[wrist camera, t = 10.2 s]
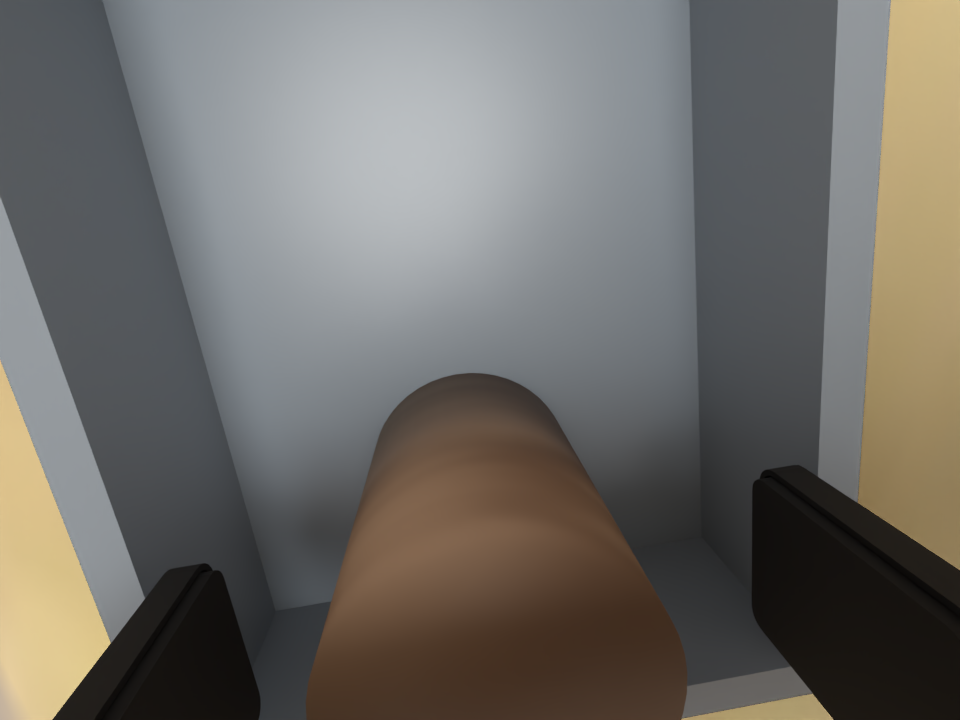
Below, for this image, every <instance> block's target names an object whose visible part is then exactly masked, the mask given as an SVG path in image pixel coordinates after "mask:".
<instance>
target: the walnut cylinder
mask: <svg viewBox="0 0 960 720" xmlns="http://www.w3.org/2000/svg"><path fill="white" fill-rule="evenodd" d="M686 695H687V666H686V659H685V653H684V650H683V646H682V643H681V640H680V637H679V634H678V632H677V630H676V628H675V626H674V624H673V622H672V620H671V618H670V616H669V614H668V613H667V611H666V609H665V607H664V606H663V604H662V602H661V601H660V599H659V597H658V595H657V594H656V592H655V590H654V588H653V587H652V585H651V583H650V581H649V580H648V578H647V576H646V574H645V573H644V571H643V569H642V567H641V566H640V564H639V562H638V561H637V559H636V557H635V555H634V554H633V552H632V550H631V548H630V547H629V545H628V543H627V541H626V540H625V538H624V536H623V534H622V533H621V531H620V529H619V528H618V526H617V524H616V522H615V521H614V519H613V517H612V515H611V514H610V512H609V510H608V508H607V507H606V505H605V503H604V501H603V500H602V498H601V496H600V494H599V493H598V491H597V489H596V488H595V486H594V484H593V482H592V481H591V479H590V477H589V475H588V474H587V472H586V470H585V468H584V467H583V465H582V463H581V461H580V460H579V458H578V456H577V454H576V453H575V451H574V449H573V448H572V446H571V444H570V442H569V441H568V439H567V437H566V435H565V434H564V432H563V430H562V428H561V427H560V425H559V423H558V421H557V420H556V418H555V416H554V415H553V414H552V412H551V411H550V409H549V408H548V407H547V406H546V404H545V403H544V402H543V401H542V400H541V399H540V398H539V397H538V396H536V395H535V394H534V393H533V392H531V391H530V390H528V389H527V388H525V387H523V386H522V385H520V384H518V383H516V382H514V381H511V380H509V379H506V378H503V377H499V376H496V375H489V374H483V373H465V374H456V375H451V376H447V377H443V378H440V379H437V380H435V381H432V382H430V383H428V384H426V385H424V386H422V387H420V388H418V389H417V390H415V391H414V392H413V393H411V394H410V395H408V396H407V397H406V398H405V399H404V400H403V401H402V402H401V403H399V405H398V406H397V407H396V408H395V409H394V410H393V412H392V413H391V414H390V416H389V417H388V419H387V420H386V422H385V424H384V426H383V428H382V430H381V432H380V434H379V437H378V441H377V444H376V448H375V451H374V455H373V458H372V462H371V465H370V469H369V472H368V476H367V479H366V483H365V486H364V490H363V493H362V496H361V500H360V503H359V507H358V510H357V514H356V517H355V521H354V524H353V528H352V531H351V535H350V538H349V542H348V545H347V549H346V552H345V556H344V559H343V563H342V566H341V570H340V573H339V577H338V580H337V583H336V587H335V590H334V594H333V597H332V601H331V604H330V608H329V611H328V615H327V618H326V622H325V625H324V629H323V632H322V636H321V639H320V643H319V646H318V650H317V653H316V657H315V660H314V663H313V667H312V670H311V674H310V677H309V681H308V688H307V696H306V720H681V718H682V715H683V712H684V706H685V701H686Z"/></svg>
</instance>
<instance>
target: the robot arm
mask: <svg viewBox="0 0 960 720" xmlns="http://www.w3.org/2000/svg"><path fill="white" fill-rule="evenodd" d="M752 610H753V614H754V617H755V620H756V622H757V624H758V625H759V627H760V628H761V630H762V631H763V632H764V634H765V635H766V636H767V637H768V639H769V640H770V641H771V642H772V644H773V645H774V646H775V647H776V648H777V650H778V651H779V652H780V653H781V655H782V656H783V657H784V658H785V660H786V661H787V662H788V663H789V665H790V666H791V667H792V668H793V670H794V671H795V672H796V673H797V675H798V676H799V677H800V678H801V680H802V681H803V682H804V683H805V684H806V686H807V687H808V688H809V689H810V691H811V692H812V693H813V694H814V696H815V697H816V698H817V699H818V701H819V702H820V703H821V704H822V706H823V707H824V708H825V709H826V711H827V712H828V713H829V714H830V715H831V717H832V718H833V719H834V720H960V570H958V569H957V568H955V567H954V566H952V565H951V564H949V563H948V562H946V561H945V560H943V559H942V558H940V557H939V556H937V555H936V554H934V553H933V552H931V551H929V550H928V549H926V548H925V547H923V546H922V545H920V544H919V543H917V542H916V541H914V540H913V539H911V538H910V537H908V536H907V535H905V534H904V533H902V532H901V531H899V530H898V529H896V528H895V527H893V526H892V525H890V524H889V523H887V522H886V521H884V520H883V519H881V518H880V517H878V516H877V515H875V514H874V513H872V512H870V511H869V510H867V509H866V508H864V507H863V506H861V505H860V504H858V503H857V502H855V501H854V500H852V499H851V498H849V497H848V496H846V495H845V494H843V493H842V492H840V491H839V490H837V489H836V488H834V487H833V486H831V485H830V484H828V483H827V482H825V481H824V480H822V479H821V478H819V477H818V476H816V475H815V474H813V473H811V472H810V471H808V470H807V469H805V468H804V467H802V466H800V465H790V466H784V467H778V468H772V469H766V470H764V471H763V472H762V473H761V475H760V479H757V480H755V481H754V483H753V487H752ZM260 709H261V699H260V693H259V690H258V686H257V683H256V680H255V677H254V673H253V670H252V667H251V664H250V660H249V657H248V654H247V651H246V647H245V644H244V641H243V638H242V634H241V631H240V628H239V625H238V621H237V618H236V615H235V612H234V608H233V605H232V602H231V599H230V595H229V592H228V589H227V586H226V582H225V579H224V576H223V574H222V573H221V572H220V571H219V570H214V571H213V570H212V568H211V567H210V565H209V564H206V563H202V564H196V565H190V566H184V567H178V568H173V569H169V570H168V571H167V572H166V573H165V574H164V575H163V576H162V577H161V579H160V580H159V581H158V583H157V584H156V585H155V586H154V588H153V589H152V590H151V592H150V593H149V594H148V596H147V597H146V598H145V599H144V601H143V602H142V603H141V605H140V606H139V607H138V609H137V610H136V611H135V613H134V614H133V615H132V616H131V618H130V619H129V620H128V622H127V623H126V624H125V626H124V627H123V628H122V630H121V631H120V632H119V633H118V635H117V636H116V637H115V639H114V640H113V641H112V643H111V644H110V645H109V647H108V648H107V649H106V650H105V652H104V653H103V654H102V656H101V657H100V658H99V660H98V661H97V662H96V664H95V665H94V666H93V667H92V669H91V670H90V671H89V673H88V674H87V675H86V677H85V678H84V679H83V680H82V682H81V683H80V684H79V686H78V687H77V688H76V690H75V691H74V692H73V694H72V695H71V696H70V697H69V699H68V700H67V701H66V703H65V704H64V705H63V707H62V708H61V709H60V711H59V712H58V713H57V714H56V716H55V717H54V718H53V720H259V716H260Z"/></svg>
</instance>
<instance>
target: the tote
mask: <svg viewBox="0 0 960 720" xmlns="http://www.w3.org/2000/svg"><path fill="white" fill-rule="evenodd" d="M890 3H891V0H0V360H1V363H2V365H3V368H4V370H5V373H6V375H7V378H8V381H9V383H10V386H11V388H12V391H13V393H14V396H15V399H16V401H17V404H18V406H19V409H20V411H21V414H22V416H23V419H24V422H25V424H26V427H27V429H28V432H29V434H30V437H31V440H32V442H33V445H34V447H35V450H36V452H37V455H38V457H39V460H40V463H41V465H42V468H43V470H44V473H45V475H46V478H47V480H48V483H49V486H50V488H51V491H52V493H53V496H54V498H55V501H56V504H57V506H58V509H59V511H60V514H61V516H62V519H63V521H64V524H65V527H66V529H67V532H68V534H69V537H70V539H71V542H72V544H73V547H74V550H75V552H76V555H77V557H78V560H79V562H80V565H81V568H82V570H83V573H84V575H85V578H86V580H87V583H88V585H89V588H90V591H91V593H92V596H93V598H94V601H95V603H96V606H97V608H98V611H99V614H100V616H101V619H102V621H103V624H104V626H105V629H106V632H107V634H108V637H109V639H110V642H111V643H112V641H113V640H114V639H115V637H116V636H117V635H118V633H119V632H120V631H121V630H122V628H123V627H124V626H125V624H126V623H127V622H128V620H129V619H130V618H131V616H132V615H133V614H134V613H135V611H136V610H137V609H138V607H139V606H140V605H141V603H142V602H143V601H144V599H145V598H146V597H147V596H148V594H149V593H150V592H151V590H152V589H153V588H154V586H155V585H156V584H157V583H158V581H159V580H160V579H161V577H162V576H163V575H164V574H165V573H166V572H167V571H168V570H169V569H173V568H178V567H184V566H190V565H196V564H202V563H206V564H209V565H210V567H211V568H212V570H213V571H214V570H219V571H220V572H221V573H222V574H223V576H224V579H225V582H226V586H227V589H228V592H229V595H230V599H231V602H232V605H233V608H234V612H235V615H236V618H237V621H238V625H239V628H240V631H241V634H242V638H243V641H244V644H245V647H246V651H247V654H248V657H249V660H250V664H251V667H252V670H253V673H254V677H255V680H256V683H257V686H258V690H259V693H260V699H261V709H260V716H259V720H306V696H307V688H308V681H309V677H310V674H311V670H312V667H313V663H314V660H315V657H316V653H317V650H318V646H319V643H320V639H321V636H322V632H323V629H324V625H325V622H326V618H327V615H328V611H329V608H330V604H331V601H332V597H333V594H334V590H335V587H336V583H337V580H338V577H339V573H340V570H341V566H342V563H343V559H344V556H345V552H346V549H347V545H348V542H349V538H350V535H351V531H352V528H353V524H354V521H355V517H356V514H357V510H358V507H359V503H360V500H361V496H362V493H363V490H364V486H365V483H366V479H367V476H368V472H369V469H370V465H371V462H372V458H373V455H374V451H375V448H376V444H377V441H378V437H379V434H380V432H381V430H382V428H383V426H384V424H385V422H386V420H387V419H388V417H389V416H390V414H391V413H392V412H393V410H394V409H395V408H396V407H397V406H398V405H399V403H401V402H402V401H403V400H404V399H405V398H406V397H407V396H408V395H410V394H411V393H413V392H414V391H415V390H417V389H418V388H420V387H422V386H424V385H426V384H428V383H430V382H432V381H435V380H437V379H440V378H443V377H447V376H451V375H456V374H465V373H483V374H489V375H496V376H499V377H503V378H506V379H509V380H511V381H514V382H516V383H518V384H520V385H522V386H523V387H525V388H527V389H528V390H530V391H531V392H533V393H534V394H535V395H536V396H538V397H539V398H540V399H541V400H542V401H543V402H544V403H545V404H546V406H547V407H548V408H549V409H550V411H551V412H552V414H553V415H554V416H555V418H556V420H557V421H558V423H559V425H560V427H561V428H562V430H563V432H564V434H565V435H566V437H567V439H568V441H569V442H570V444H571V446H572V448H573V449H574V451H575V453H576V454H577V456H578V458H579V460H580V461H581V463H582V465H583V467H584V468H585V470H586V472H587V474H588V475H589V477H590V479H591V481H592V482H593V484H594V486H595V488H596V489H597V491H598V493H599V494H600V496H601V498H602V500H603V501H604V503H605V505H606V507H607V508H608V510H609V512H610V514H611V515H612V517H613V519H614V521H615V522H616V524H617V526H618V528H619V529H620V531H621V533H622V534H623V536H624V538H625V540H626V541H627V543H628V545H629V547H630V548H631V550H632V552H633V554H634V555H635V557H636V559H637V561H638V562H639V564H640V566H641V567H642V569H643V571H644V573H645V574H646V576H647V578H648V580H649V581H650V583H651V585H652V587H653V588H654V590H655V592H656V594H657V595H658V597H659V599H660V601H661V602H662V604H663V606H664V607H665V609H666V611H667V613H668V614H669V616H670V618H671V620H672V622H673V624H674V626H675V628H676V630H677V632H678V634H679V637H680V640H681V643H682V646H683V650H684V653H685V659H686V666H687V695H686V701H685V706H684V712H683V715H682V718H687V717H692V716H697V715H703V714H708V713H713V712H718V711H724V710H729V709H734V708H739V707H745V706H750V705H755V704H760V703H765V702H771V701H776V700H781V699H786V698H792V697H797V696H802V695H807V694H813V693H812V692H811V691H810V689H809V688H808V687H807V686H806V684H805V683H804V682H803V681H802V680H801V678H800V677H799V676H798V675H797V673H796V672H795V671H794V670H793V668H792V667H791V666H790V665H789V663H788V662H787V661H786V660H785V658H784V657H783V656H782V655H781V653H780V652H779V651H778V650H777V648H776V647H775V646H774V645H773V644H772V642H771V641H770V640H769V639H768V637H767V636H766V635H765V634H764V632H763V631H762V630H761V628H760V627H759V625H758V624H757V622H756V620H755V617H754V614H753V610H752V487H753V483H754V481H755V480H757V479H760V475H761V473H762V472H763V471H764V470H766V469H772V468H778V467H784V466H790V465H800V466H802V467H804V468H805V469H807V470H808V471H810V472H811V473H813V474H815V475H816V476H818V477H819V478H821V479H822V480H824V481H825V482H827V483H828V484H830V485H831V486H833V487H834V488H836V489H837V490H839V491H840V492H842V493H843V494H845V495H846V496H848V497H849V498H851V499H852V500H854V501H855V502H857V503H858V489H859V474H860V459H861V444H862V429H863V413H864V398H865V383H866V368H867V353H868V337H869V322H870V307H871V292H872V277H873V261H874V246H875V231H876V216H877V201H878V185H879V170H880V155H881V140H882V125H883V109H884V94H885V79H886V64H887V48H888V33H889V18H890ZM682 718H681V719H682Z"/></svg>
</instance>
